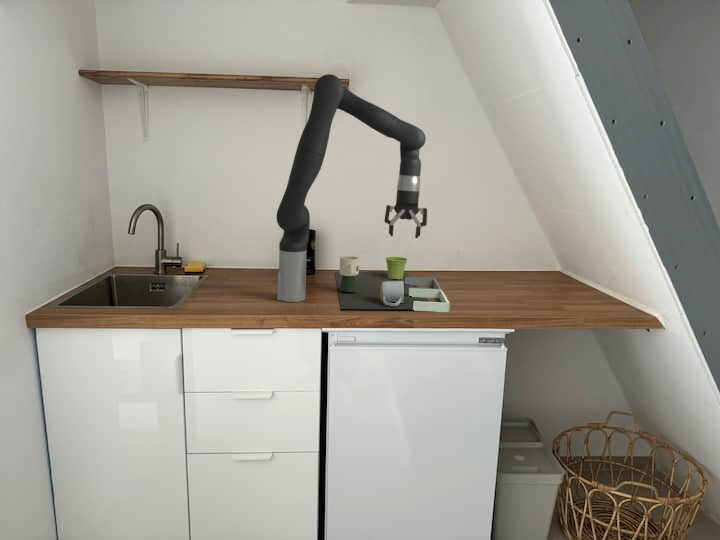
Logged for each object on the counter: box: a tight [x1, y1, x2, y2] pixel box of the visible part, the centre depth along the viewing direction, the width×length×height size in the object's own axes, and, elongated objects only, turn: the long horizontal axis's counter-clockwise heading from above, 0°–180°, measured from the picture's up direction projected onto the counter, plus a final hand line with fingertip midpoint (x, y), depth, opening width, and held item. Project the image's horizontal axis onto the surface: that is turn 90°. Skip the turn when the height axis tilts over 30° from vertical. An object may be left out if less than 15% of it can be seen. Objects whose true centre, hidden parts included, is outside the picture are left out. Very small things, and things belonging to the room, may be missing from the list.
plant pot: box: [384, 256, 408, 280], centre depth 223 cm, size 9×9×9 cm
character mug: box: [339, 255, 360, 294], centre depth 195 cm, size 11×7×13 cm, turn 10°
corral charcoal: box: [404, 276, 443, 295], centre depth 204 cm, size 12×20×3 cm, turn 179°
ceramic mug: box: [380, 280, 405, 307], centre depth 182 cm, size 11×8×8 cm
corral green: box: [408, 287, 451, 313], centre depth 184 cm, size 12×20×3 cm, turn 179°
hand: (404, 237), depth 180 cm, fingers open, 8 cm apart
